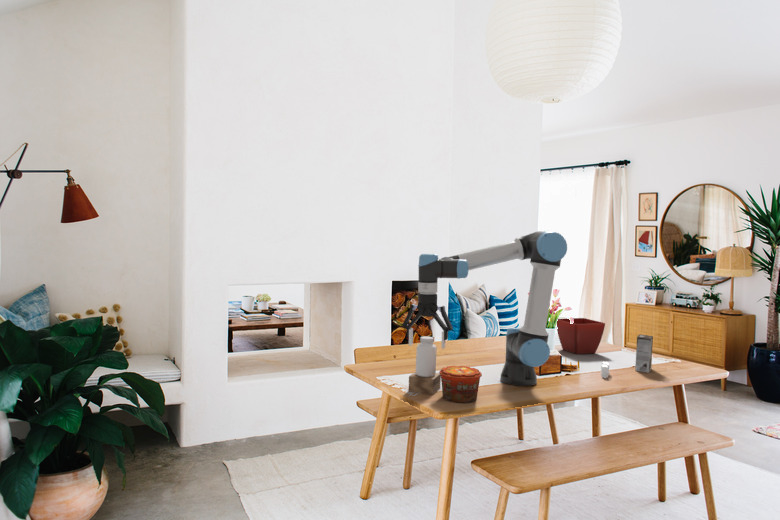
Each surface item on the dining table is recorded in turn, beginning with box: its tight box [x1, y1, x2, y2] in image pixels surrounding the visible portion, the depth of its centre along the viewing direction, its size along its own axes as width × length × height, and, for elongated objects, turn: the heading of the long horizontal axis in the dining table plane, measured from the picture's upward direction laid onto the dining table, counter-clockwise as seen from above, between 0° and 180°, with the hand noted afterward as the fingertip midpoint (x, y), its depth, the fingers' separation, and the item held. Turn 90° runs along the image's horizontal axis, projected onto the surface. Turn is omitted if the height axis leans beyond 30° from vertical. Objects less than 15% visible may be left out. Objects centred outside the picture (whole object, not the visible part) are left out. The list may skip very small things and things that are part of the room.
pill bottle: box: [415, 335, 437, 377], centre depth 221 cm, size 8×8×15 cm
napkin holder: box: [600, 361, 610, 379], centre depth 254 cm, size 15×11×6 cm
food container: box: [438, 365, 483, 404], centre depth 212 cm, size 16×16×11 cm
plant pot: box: [556, 317, 606, 355], centre depth 304 cm, size 19×19×17 cm
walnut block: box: [408, 371, 442, 396], centre depth 222 cm, size 10×10×6 cm
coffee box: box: [634, 334, 654, 373], centre depth 266 cm, size 9×6×16 cm
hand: (426, 346), depth 221 cm, fingers open, 13 cm apart
